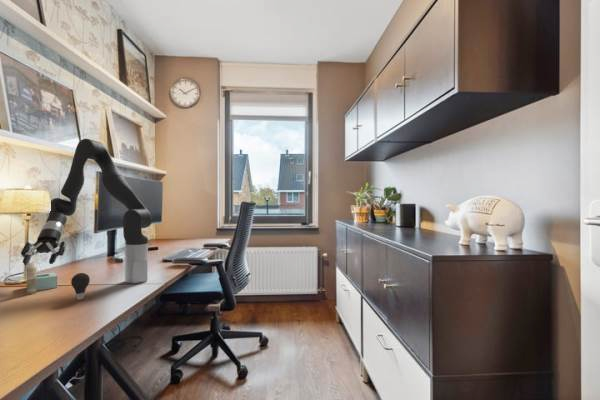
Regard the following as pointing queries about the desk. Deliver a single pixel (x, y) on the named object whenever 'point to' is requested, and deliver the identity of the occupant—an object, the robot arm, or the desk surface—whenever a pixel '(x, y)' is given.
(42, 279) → the bead block
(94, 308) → the desk surface
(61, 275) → the desk surface
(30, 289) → the dowel
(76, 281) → the light bulb
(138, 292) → the desk surface
